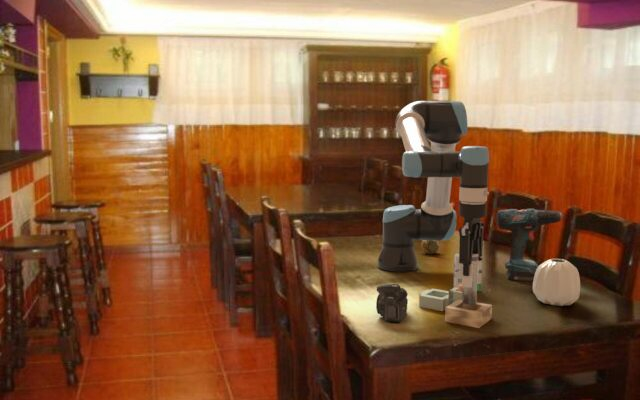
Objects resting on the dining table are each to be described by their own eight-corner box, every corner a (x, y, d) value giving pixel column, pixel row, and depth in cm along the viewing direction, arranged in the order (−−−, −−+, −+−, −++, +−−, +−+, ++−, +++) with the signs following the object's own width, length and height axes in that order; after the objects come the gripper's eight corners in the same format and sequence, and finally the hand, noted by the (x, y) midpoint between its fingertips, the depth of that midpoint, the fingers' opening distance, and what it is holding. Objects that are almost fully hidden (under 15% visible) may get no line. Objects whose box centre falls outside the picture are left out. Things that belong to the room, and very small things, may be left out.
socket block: (416, 306, 193) (416, 287, 192) (429, 298, 201) (429, 280, 200) (465, 315, 184) (465, 295, 184) (476, 307, 192) (477, 288, 191)
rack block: (444, 321, 179) (445, 307, 179) (458, 312, 187) (458, 299, 187) (479, 328, 174) (479, 314, 173) (491, 318, 182) (492, 304, 181)
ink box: (478, 287, 214) (480, 253, 212) (481, 291, 209) (483, 256, 207) (452, 287, 214) (454, 252, 213) (455, 291, 210) (456, 256, 208)
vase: (575, 312, 188) (577, 267, 187) (527, 304, 196) (529, 261, 194) (583, 300, 200) (586, 258, 198) (538, 293, 207) (540, 253, 206)
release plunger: (456, 302, 189) (456, 285, 188) (459, 300, 191) (460, 283, 191) (465, 303, 188) (465, 287, 187) (468, 301, 190) (469, 285, 189)
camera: (372, 310, 189) (373, 277, 188) (406, 310, 190) (406, 277, 188) (378, 324, 176) (378, 289, 175) (413, 324, 176) (414, 289, 175)
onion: (442, 252, 268) (443, 233, 266) (435, 256, 261) (435, 237, 260) (425, 250, 272) (426, 232, 270) (418, 253, 265) (418, 235, 264)
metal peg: (459, 302, 179) (461, 254, 177) (464, 299, 183) (466, 251, 181) (473, 305, 177) (475, 256, 175) (478, 301, 180) (480, 253, 178)
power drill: (563, 282, 221) (567, 211, 217) (494, 279, 225) (497, 209, 222) (559, 276, 229) (563, 207, 226) (493, 273, 234) (496, 205, 230)
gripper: (475, 207, 167) (471, 293, 170) (496, 200, 181) (493, 280, 184) (448, 204, 171) (445, 289, 174) (471, 198, 185) (468, 276, 188)
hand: (469, 284), depth 179 cm, fingers closed on metal peg, 4 cm apart
